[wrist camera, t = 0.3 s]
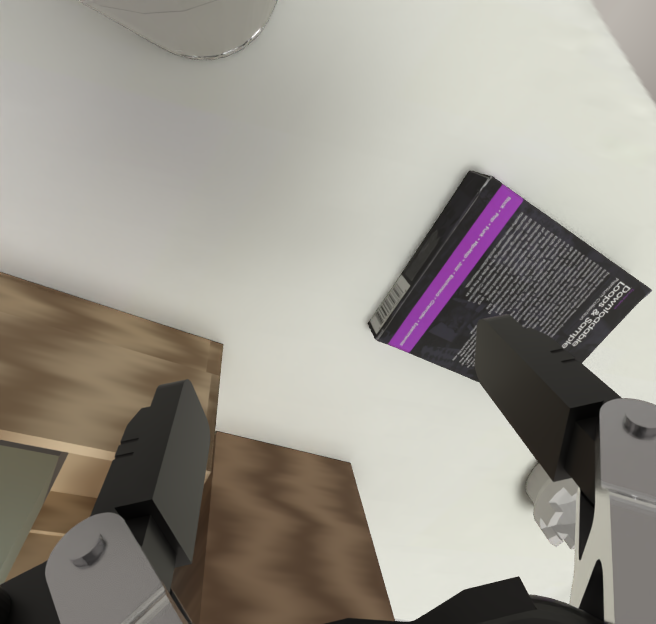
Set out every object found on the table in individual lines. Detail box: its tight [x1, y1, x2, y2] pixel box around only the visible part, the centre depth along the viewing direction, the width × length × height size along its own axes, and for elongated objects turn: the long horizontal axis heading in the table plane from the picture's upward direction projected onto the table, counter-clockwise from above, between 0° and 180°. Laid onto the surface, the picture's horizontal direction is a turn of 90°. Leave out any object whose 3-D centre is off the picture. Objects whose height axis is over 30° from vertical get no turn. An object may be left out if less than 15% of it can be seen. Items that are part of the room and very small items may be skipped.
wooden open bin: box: [0, 272, 223, 582], centre depth 25 cm, size 21×20×12 cm
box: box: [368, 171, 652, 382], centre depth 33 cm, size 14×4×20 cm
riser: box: [171, 431, 395, 624], centre depth 33 cm, size 14×14×16 cm
